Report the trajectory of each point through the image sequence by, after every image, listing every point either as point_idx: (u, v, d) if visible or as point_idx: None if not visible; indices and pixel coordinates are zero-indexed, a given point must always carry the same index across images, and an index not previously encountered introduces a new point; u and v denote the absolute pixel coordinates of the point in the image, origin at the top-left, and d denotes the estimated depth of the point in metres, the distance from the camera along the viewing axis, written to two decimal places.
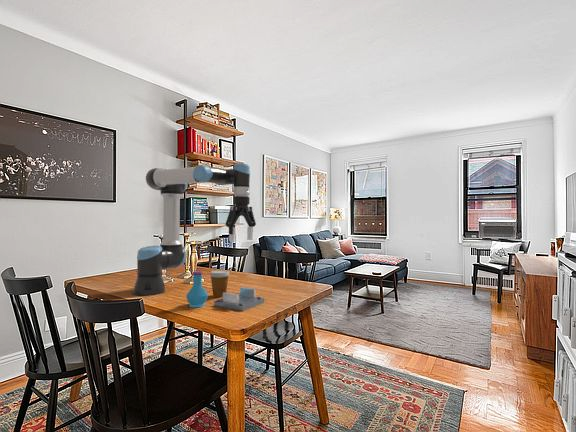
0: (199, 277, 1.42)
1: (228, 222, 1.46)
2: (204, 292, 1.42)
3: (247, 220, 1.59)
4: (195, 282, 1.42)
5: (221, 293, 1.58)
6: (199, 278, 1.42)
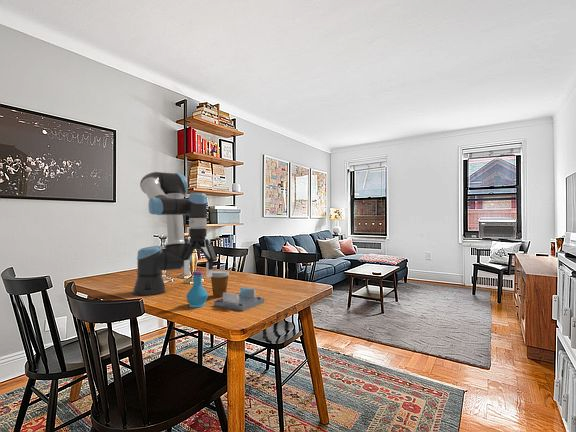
0: (199, 277, 1.42)
1: None
2: (204, 292, 1.42)
3: None
4: (195, 282, 1.42)
5: (221, 293, 1.58)
6: (199, 278, 1.42)
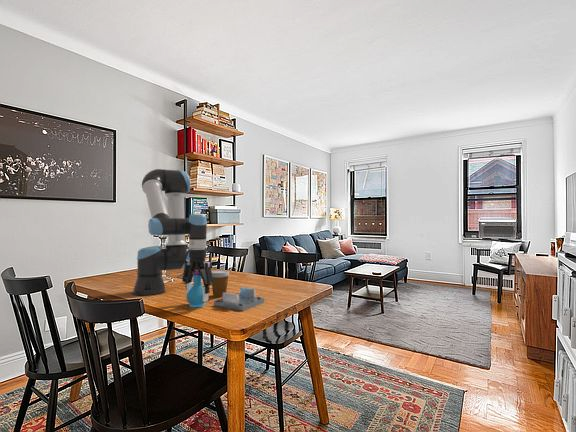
0: (199, 277, 1.42)
1: None
2: None
3: None
4: (195, 282, 1.42)
5: (221, 293, 1.58)
6: (199, 278, 1.42)
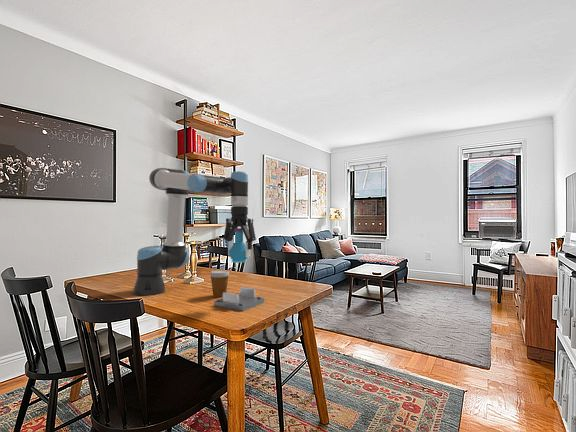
0: (241, 233, 1.44)
1: None
2: None
3: None
4: (237, 238, 1.44)
5: (221, 293, 1.58)
6: (241, 234, 1.44)
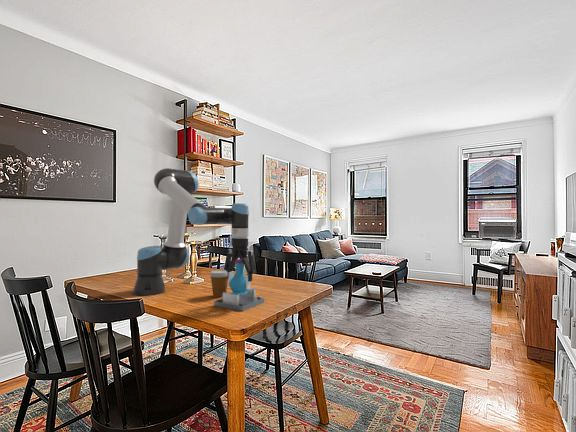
0: (242, 265, 1.44)
1: None
2: None
3: None
4: (238, 270, 1.44)
5: (221, 293, 1.58)
6: (242, 266, 1.44)
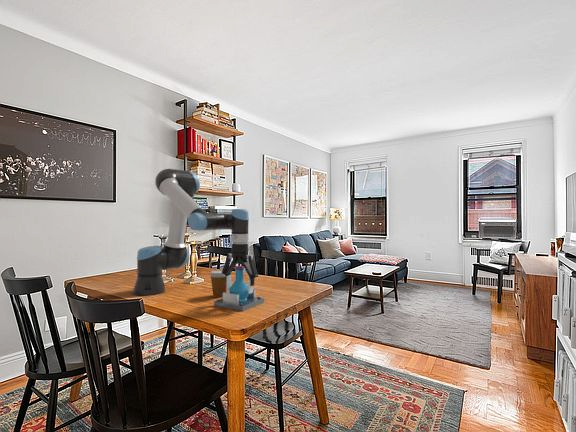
0: (241, 272, 1.44)
1: None
2: (246, 287, 1.44)
3: None
4: (238, 277, 1.44)
5: (221, 293, 1.58)
6: (241, 273, 1.44)
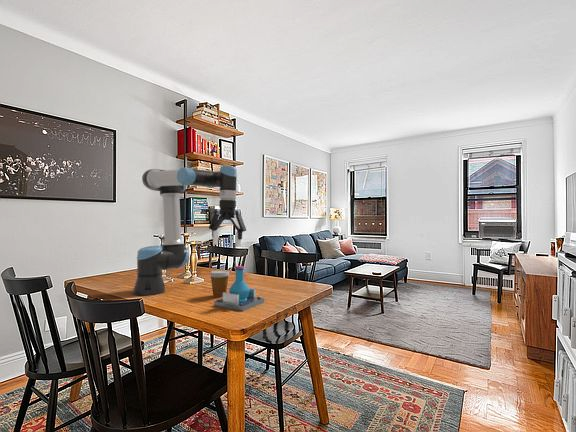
0: (241, 272, 1.44)
1: None
2: (246, 287, 1.44)
3: None
4: (238, 277, 1.44)
5: (221, 293, 1.58)
6: (241, 273, 1.44)
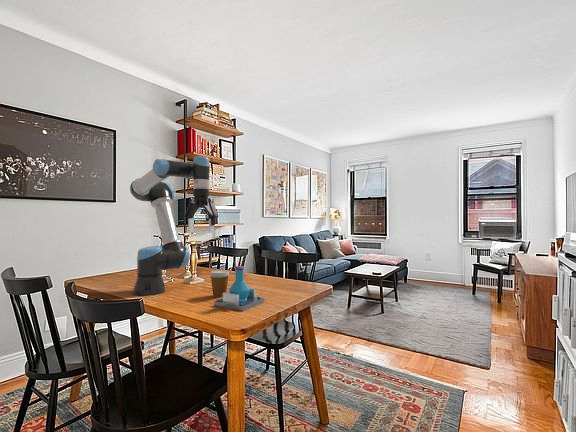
0: (241, 272, 1.44)
1: None
2: (246, 287, 1.44)
3: None
4: (238, 277, 1.44)
5: (221, 293, 1.58)
6: (241, 273, 1.44)
